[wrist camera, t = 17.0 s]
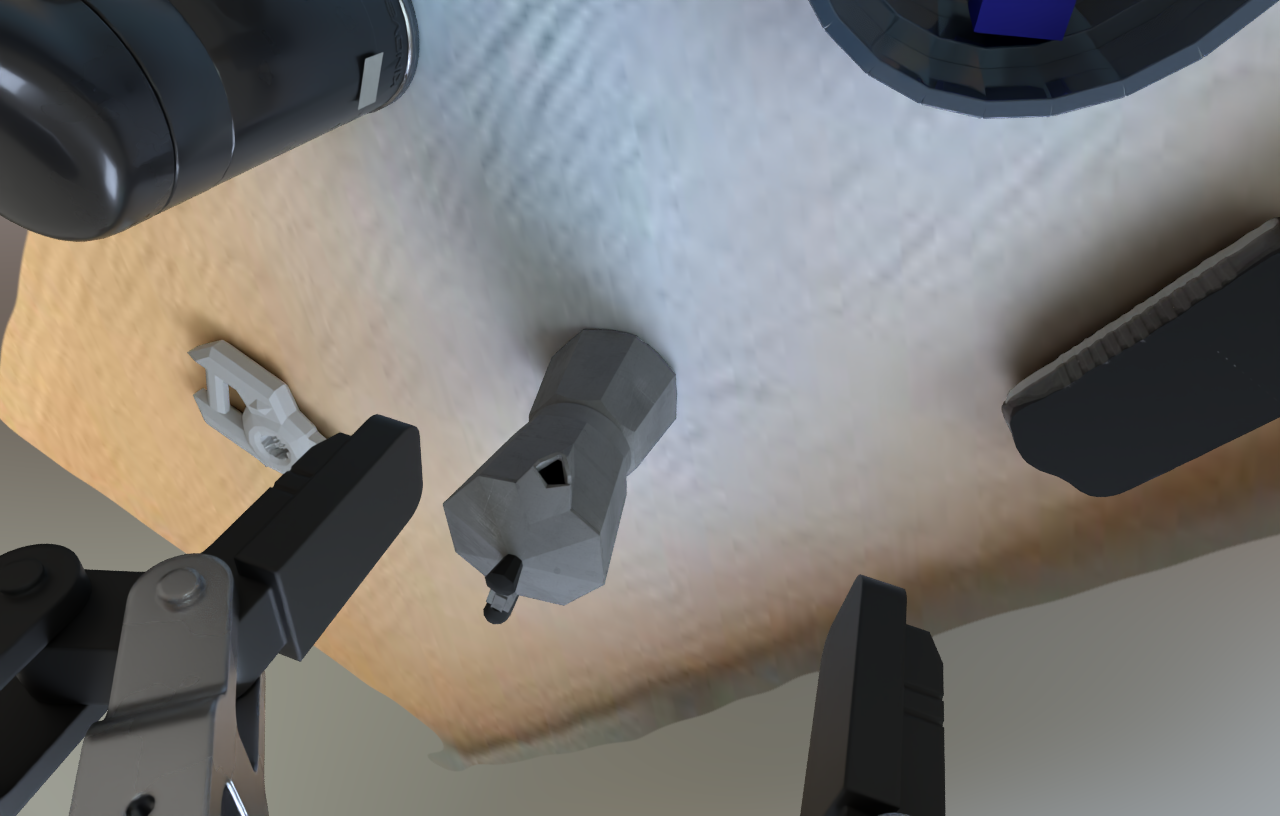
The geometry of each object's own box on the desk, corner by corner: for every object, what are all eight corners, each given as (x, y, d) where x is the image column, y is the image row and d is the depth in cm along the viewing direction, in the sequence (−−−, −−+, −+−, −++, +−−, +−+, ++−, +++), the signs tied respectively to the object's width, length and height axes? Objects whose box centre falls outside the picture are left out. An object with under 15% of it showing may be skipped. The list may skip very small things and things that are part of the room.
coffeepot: (580, 275, 46) (432, 459, 32) (717, 343, 46) (626, 556, 32) (523, 439, 56) (391, 633, 42) (635, 495, 56) (540, 707, 42)
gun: (374, 478, 58) (345, 538, 65) (401, 451, 61) (370, 512, 67) (177, 338, 57) (168, 414, 63) (213, 317, 60) (200, 392, 66)
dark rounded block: (1302, 179, 32) (1337, 211, 29) (1422, 302, 34) (1465, 345, 31) (983, 389, 43) (986, 428, 40) (1084, 477, 44) (1094, 521, 41)
